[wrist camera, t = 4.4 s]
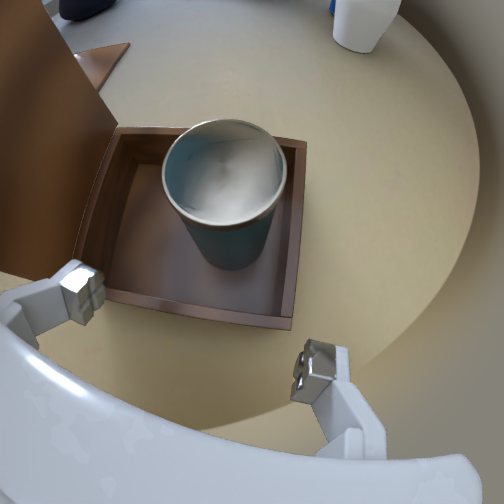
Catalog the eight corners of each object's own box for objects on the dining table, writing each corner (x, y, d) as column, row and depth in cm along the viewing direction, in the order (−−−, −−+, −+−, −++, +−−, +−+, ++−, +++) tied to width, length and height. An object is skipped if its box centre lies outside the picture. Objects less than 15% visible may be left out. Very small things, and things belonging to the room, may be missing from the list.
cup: (317, 25, 33) (330, -31, 21) (365, 32, 33) (383, -19, 22) (337, 54, 31) (358, -11, 19) (388, 61, 31) (415, 6, 20)
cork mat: (63, 159, 25) (61, 156, 25) (-5, 164, 25) (-7, 162, 25) (130, 44, 31) (129, 42, 30) (57, 60, 31) (56, 58, 30)
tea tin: (262, 276, 22) (281, 235, 11) (190, 266, 22) (146, 217, 11) (270, 208, 24) (291, 126, 13) (203, 200, 24) (178, 115, 13)
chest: (294, 177, 25) (307, 141, 20) (278, 328, 22) (291, 330, 16) (136, 161, 25) (116, 126, 20) (101, 297, 22) (66, 289, 16)
